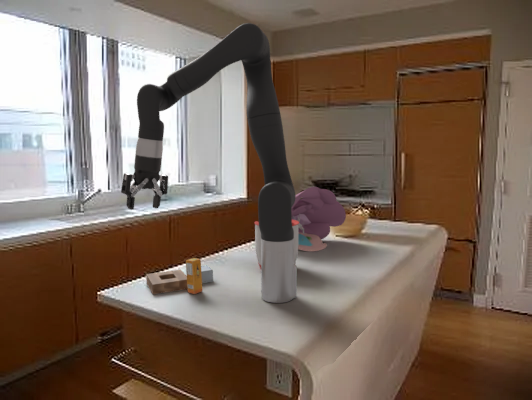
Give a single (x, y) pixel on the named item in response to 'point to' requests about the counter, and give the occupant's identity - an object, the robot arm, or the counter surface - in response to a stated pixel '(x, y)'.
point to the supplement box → (194, 275)
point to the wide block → (206, 274)
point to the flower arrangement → (316, 217)
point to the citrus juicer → (258, 241)
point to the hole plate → (166, 281)
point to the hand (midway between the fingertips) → (143, 208)
